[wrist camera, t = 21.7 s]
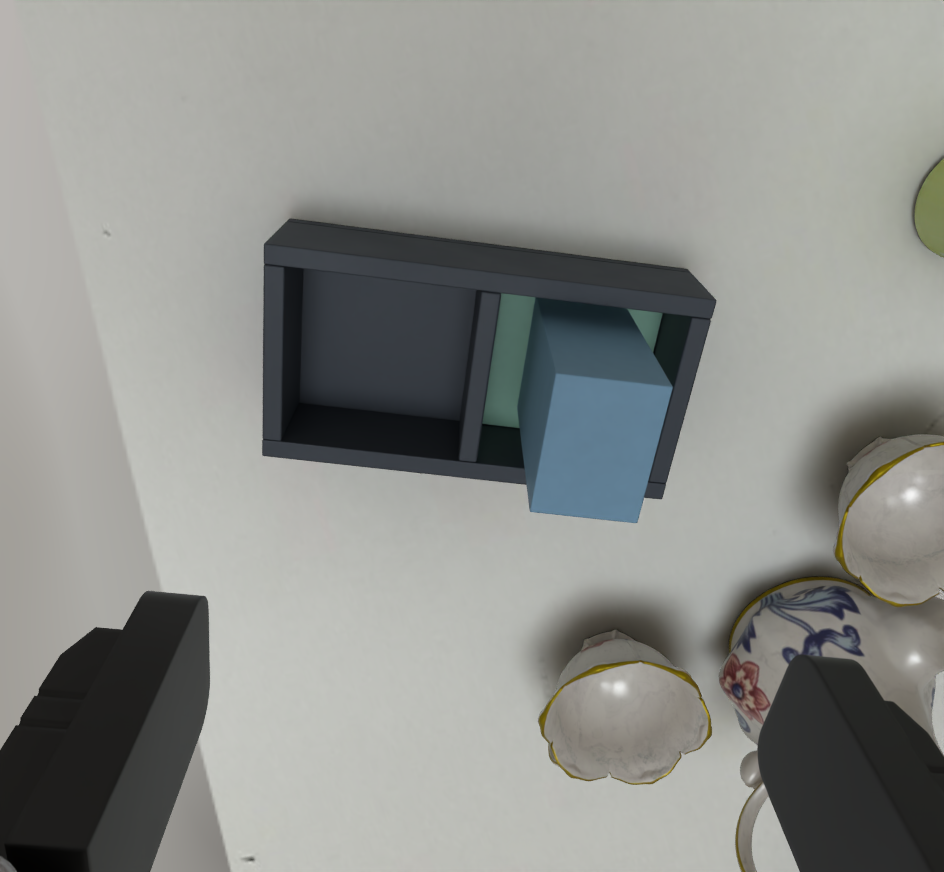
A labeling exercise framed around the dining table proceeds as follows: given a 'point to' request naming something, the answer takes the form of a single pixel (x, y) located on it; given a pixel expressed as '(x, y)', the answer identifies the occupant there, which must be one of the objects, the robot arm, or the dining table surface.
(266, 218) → the dining table surface
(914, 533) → the chinaware
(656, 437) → the steel-blue rectangular block
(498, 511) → the dining table surface
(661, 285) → the tray
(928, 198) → the tube
